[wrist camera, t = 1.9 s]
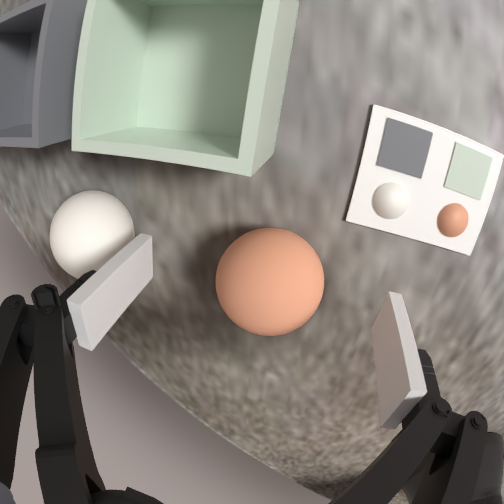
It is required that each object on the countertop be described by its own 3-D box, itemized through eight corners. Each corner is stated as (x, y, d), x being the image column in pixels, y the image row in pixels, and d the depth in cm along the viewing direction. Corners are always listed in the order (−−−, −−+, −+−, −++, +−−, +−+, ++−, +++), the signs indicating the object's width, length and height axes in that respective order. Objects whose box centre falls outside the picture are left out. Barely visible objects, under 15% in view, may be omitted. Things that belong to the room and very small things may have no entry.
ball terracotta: (311, 305, 21) (304, 368, 16) (227, 284, 22) (197, 341, 17) (335, 225, 18) (339, 276, 13) (238, 203, 19) (204, 244, 14)
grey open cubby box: (101, 131, 19) (38, 148, 13) (25, 129, 20) (-29, 145, 15) (116, 6, 14) (55, -10, 9) (34, 28, 15) (-21, 27, 10)
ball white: (150, 264, 23) (106, 310, 17) (89, 246, 23) (41, 283, 18) (151, 186, 20) (96, 218, 15) (84, 175, 20) (26, 201, 15)
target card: (468, 254, 17) (470, 256, 17) (345, 219, 18) (346, 221, 18) (502, 154, 14) (504, 155, 13) (373, 104, 15) (374, 104, 14)
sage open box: (273, 153, 17) (250, 176, 12) (133, 133, 18) (71, 150, 13) (299, 4, 13) (286, -40, 8) (151, 1, 14) (92, -22, 9)
